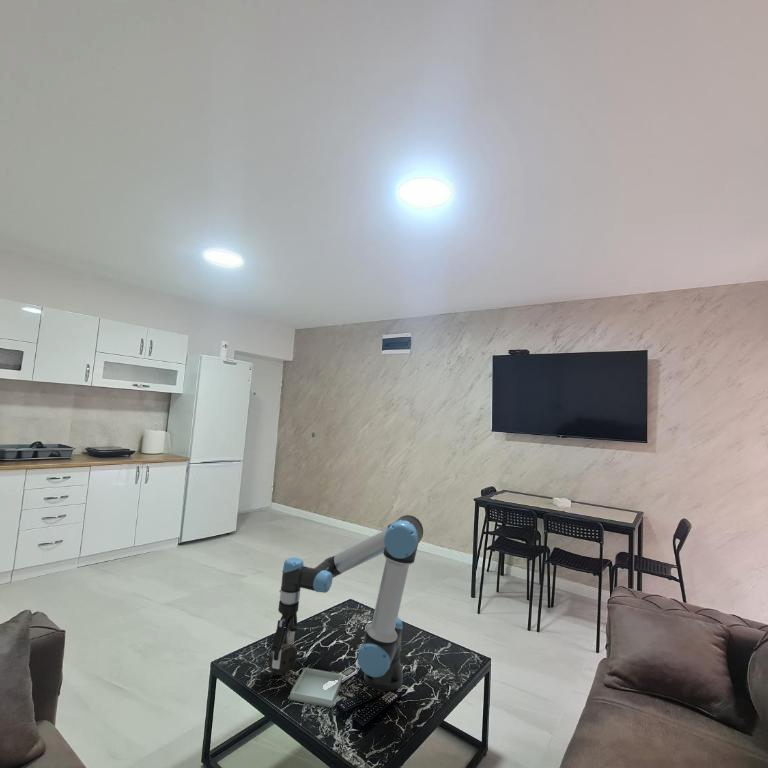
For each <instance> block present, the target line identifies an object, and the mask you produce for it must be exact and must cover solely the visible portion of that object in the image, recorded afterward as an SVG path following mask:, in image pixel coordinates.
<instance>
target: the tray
mask: <svg viewBox="0 0 768 768" xmlns="http://www.w3.org/2000/svg"><path fill="white" fill-rule="evenodd" d="M343 678H344V674H342V673H337V672H332V671H326V670H321V669H314V668H310V667H304V668H303V670H302V672H301V673H300V675H299V677H298V678H297V680H296V682H295V684H294V686H293V687H292V689H291V691H290V694H289V701H294V702H300V703H303V704H309V705H315V706H319V707H325V708H330V709H332V708H333V706H334V703H335V701H336V698H337V696H338V693H339V691H340V688H341V685H342V684H341V683H343V680H344V679H343ZM342 679H343V680H342ZM335 680H338V682H337V683H336V684H335V685H333V686H332V687H330V688H328V689H327V690H324V689H323V685H324V684H325V683H327V682H328V681H335Z"/></svg>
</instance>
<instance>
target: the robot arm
mask: <svg viewBox="0 0 768 768" xmlns="http://www.w3.org/2000/svg"><path fill="white" fill-rule="evenodd" d="M423 536H424V527H423V523H422V522H421V520H419V518H417V517H416V516H414V515H410V514H406V515H402V516H400V517H399V518H398V519H396V520H395V521H393V522H392V523H390V524H388V525H387V527H386V529H384V530H382V531H381V532H378V533H376V534H373V535H372V536H370V537H369V538H366V539H365V540H362V541H360V542H358V543H357V544H354V545H353V546H350V547H349V548H346V549H345V550H342V551H340V552H338V553H337V554H335V555H333V556H330V557H327V558H326V559H324V560H323V561H322V562H320V564H318V565H317V566H315V567H313V568H312V567H308V566H304V560H303V559H302V558H300V557H289V558H286V559H285V560H284V562H283V569H282V577H281V586H280V590H279V602H278V610H277V611H278V612H279V613H280V614H281V617H280V620H278V621H277V626H276V630H275V635H274V637H273V643H272V645H271V649H270V652H271V651H274V653H273V662H272V668H275V669H279V668H280V660H281V651H282V650H281V646H282V643H283V640H284V639H285V635H286V634H287V635H286V638H288V639H287V640H289V641H290V642H291V643H293V644H295V643H294V640H295V634H296V632H298V615H297V612H298V611H299V605H300V596H301V589H306V590H309V591H310V590H311V591H314V592H316V593H324V594H325V593H328V592H329V591H330V588H331V587H332V584H333V579H334V578H336V577H337V576H339V575H341V574H343V573H344V572H347V571H349V570H352V569H353V568H355V567H357V566H359V565H361V564H363V563H365V562H369V561H370V560H372V559H374V558H376V557H378V556H380V555H382V554H383V556H384V557H385V563H384V567H383V572H382V576H381V581H380V584H379V589H378V593H377V594H378V595H377V598H376V603H375V607H374V613H373V616H372V620H371V622H370V623H368V624H367V626H366V628H365V633H364V637H363V642H362V645H361V646H360V647H359V649H358V652H357V656H356V657H357V658H356V659H357V664H358V666H359V668H360V669H361V670H362V672H363V680H364V682H365V683H366V685H368V686H369V687H370V688H372V689H373V690H376V691H379V692H391V691H395V690H397V689H399V688H400V687H401V686H402V685H403V681H404V673H403V668H402V664H401V649H402V648H401V647H402V638H403V637H402V636H403V635H402V633H403V629H404V628H403V620H402V619H401V618H400V617H398V616H399V612H400V608H401V602H402V598H403V594H404V591H405V590H404V589H405V584H406V580H407V578H408V577H407V576H408V572H409V567H410V566H411V565H412V564H414V563H415V559H416V556H417V555H416V554H417V551H418V546H419V543H420V542H421V541H422V539H423ZM286 631H289V632H290V635H289V632H286ZM288 636H289V637H288Z"/></svg>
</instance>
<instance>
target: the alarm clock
mask: <svg viewBox="0 0 768 768" xmlns="http://www.w3.org/2000/svg"><path fill="white" fill-rule="evenodd" d="M289 631H290V630H289ZM289 631H288V630H287V631H286V633H288V632H289ZM289 635H290V632H289ZM288 637H289V636H288ZM287 639H288V638H287V637H286V638H285V637H284V640H283V643H282V646H281V650H282V651H281V660H280V668H279V669H275V668H272V662H273V653H274V651H271V650H270V652H269V654H268V657H267V666H268V668H269V669H270V670H271V671H272V672H271V675H270V676H269V679H271V678H272V677H273V675H274V674H276V675H279V676H281V675H283V678H284V679H285V678H286V673H288V672H289V671H291V670H292V669H293V667H294V665H295V663H296V661H297V658H298V648H297V646H296V645H295V643H291V642H290V641H289V640H287Z"/></svg>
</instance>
